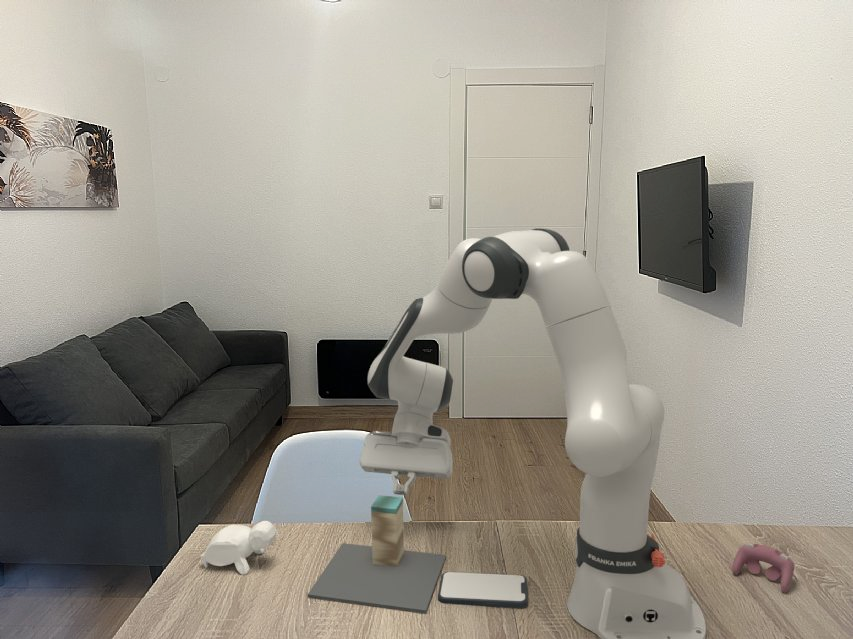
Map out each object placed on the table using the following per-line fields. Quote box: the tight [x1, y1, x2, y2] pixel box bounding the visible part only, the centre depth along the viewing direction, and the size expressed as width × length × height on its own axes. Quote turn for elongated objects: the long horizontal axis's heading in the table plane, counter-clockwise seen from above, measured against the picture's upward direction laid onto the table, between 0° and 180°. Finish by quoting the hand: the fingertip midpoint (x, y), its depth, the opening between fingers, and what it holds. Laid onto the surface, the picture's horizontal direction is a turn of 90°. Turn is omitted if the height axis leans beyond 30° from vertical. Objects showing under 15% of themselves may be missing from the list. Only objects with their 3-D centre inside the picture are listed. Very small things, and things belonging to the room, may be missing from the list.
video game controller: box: [731, 542, 796, 594], centre depth 119 cm, size 10×5×7 cm, turn 48°
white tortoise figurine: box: [199, 520, 277, 576], centre depth 126 cm, size 9×8×15 cm
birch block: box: [370, 495, 405, 566], centre depth 125 cm, size 5×5×12 cm
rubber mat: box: [307, 542, 447, 614], centre depth 121 cm, size 22×18×1 cm
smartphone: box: [437, 571, 529, 609], centre depth 116 cm, size 9×2×16 cm
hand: (400, 494), depth 133 cm, fingers closed
